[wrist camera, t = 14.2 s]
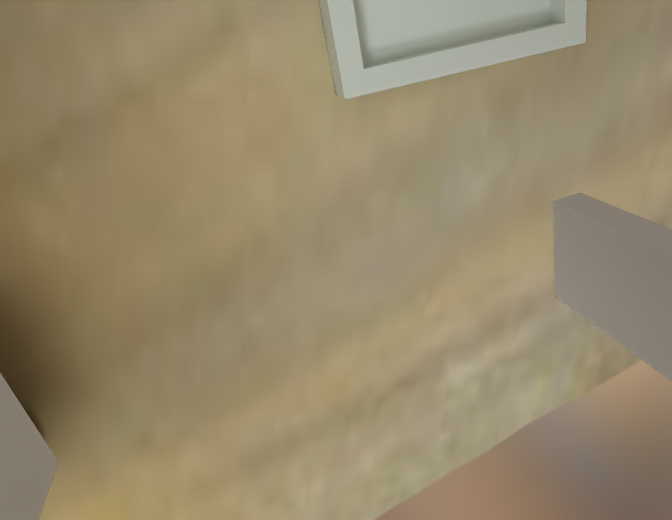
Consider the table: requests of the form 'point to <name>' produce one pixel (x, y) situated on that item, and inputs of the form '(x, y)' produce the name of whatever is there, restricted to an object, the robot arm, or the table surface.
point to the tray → (439, 37)
